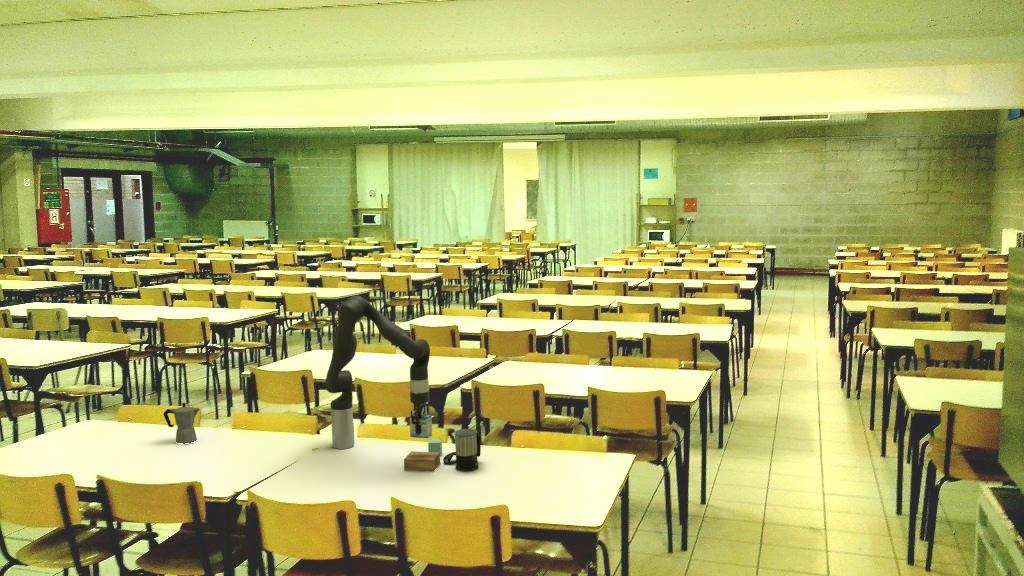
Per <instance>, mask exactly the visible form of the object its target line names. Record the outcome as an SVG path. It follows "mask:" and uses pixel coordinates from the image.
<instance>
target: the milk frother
mask: <svg viewBox="0 0 1024 576" xmlns="http://www.w3.org/2000/svg"><path fill="white" fill-rule="evenodd" d="M453 433H454V439H455V445H454V446H455V451H453V452H449V453H448V454H445V456H443V459H442V460H443V463H444V464H446V465H455V468H454V469H455V470H456V471H459V472H473V471H476V470H478V469H479V464H478V463H479V460H478V458H479V457H481V454H482V453H481V446H482V442H481V441H482V437H481V433H480V432H478V431H477V430H476V429H473V428H462V429H456V430H455V431H454V432H453ZM454 456H455V460H452V459H453V457H454Z"/></svg>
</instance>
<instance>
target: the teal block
mask: <svg viewBox="0 0 1024 576" xmlns="http://www.w3.org/2000/svg"><path fill="white" fill-rule="evenodd" d="M427 445H428V451H427V452H440V458H441V457H442V454H443V441H442V439H441V438H438V439H437V438H436V439H435V438H433V439H432V438H431V439H430V438H429V440H428V442H427Z"/></svg>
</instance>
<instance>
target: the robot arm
mask: <svg viewBox="0 0 1024 576" xmlns="http://www.w3.org/2000/svg"><path fill="white" fill-rule="evenodd" d="M362 318H367V319H369V320H370V321H372V322H373V324H374V325H375V326H376V329H378V332H379V335H381V336H382V337H383V338H384V339H385V340H387V341H388V342H390V343H391V344H392V345H395V346H396V347H398V349H399V350H400V351H401V352H402V353H403V354H404V355H406V357H409V358H410V359H413V362H412V364H411V365H410V367H409V380H410V381H409V396H410V399H409V401H410V403H412V404H413V410H410V412H409V413H410V416H411V419H412V424H414V425H415V433H416V434H421V419H422V417H423V415H430V405H431V404H430V402H429V401H430V383H429V370H428V366H429V362H430V353H431V346H430V344H429V343H428V341H427V340H426V339H423V338H418V339H416V340H414V339H412V338H411V337H410V333H409V332H408V331H406V330H405V329H404V328H402V327H400V326H399V325H397V324H396V323H395V322H392V321H391V320H390V319H388V317H386V315H384V314H383V313H382V312H380V311H379V310H378V309H377V308H376V307H375V306H374V305H372V303H370V302H369V301H368V300H366V298H364V297H362V296H360V295H353V296H351V297H350V298H348V299H347V300H346V301H344V302H343V303H342V304H341V305H340V306H339V309H338V315H337V329H336V334H335V339H334V344H333V347H332V348H333V349H332V353H331V354H332V356H331V360H330V363H329V367H328V370H327V374H326V377H325V389H326V391H327V392H328V393H330V394H339V393H341V394H340V395H339V396H338V397H336V398H335V399H333V400H331V402H330V415H331V416H330V421H331V422H330V423H331V440H332V441H331V442H332V443H331V444H332V448H334V449H336V448H337V449H336V450H345V449H350V448H353V447H354V446H355V427H354V426H355V425H354V412H353V411H354V410H353V400H354V399H353V387H354V386H353V375H352V373H351V371H350V370H347V369H346V370H345V369H344V368H346V366H347V365H348V364H350V363H351V362H352V360H353V359H354V357H355V355H356V351H357V347H358V341H357V338H356V336H355V334H354V330H355V327H356V324H357V323H358V322H359V321H360V320H361V319H362ZM418 416H420V417H418Z"/></svg>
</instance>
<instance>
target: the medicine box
mask: <svg viewBox="0 0 1024 576" xmlns="http://www.w3.org/2000/svg"><path fill="white" fill-rule="evenodd" d="M418 417H420V416H418ZM432 417H433V415H432V414H429V415H423V417H422V419H421V434H416V433H415V425H414V424H412V419H411V415H409V437H410V438H414V439H417V438H418V439H430V437H432V436H433V418H432Z"/></svg>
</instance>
